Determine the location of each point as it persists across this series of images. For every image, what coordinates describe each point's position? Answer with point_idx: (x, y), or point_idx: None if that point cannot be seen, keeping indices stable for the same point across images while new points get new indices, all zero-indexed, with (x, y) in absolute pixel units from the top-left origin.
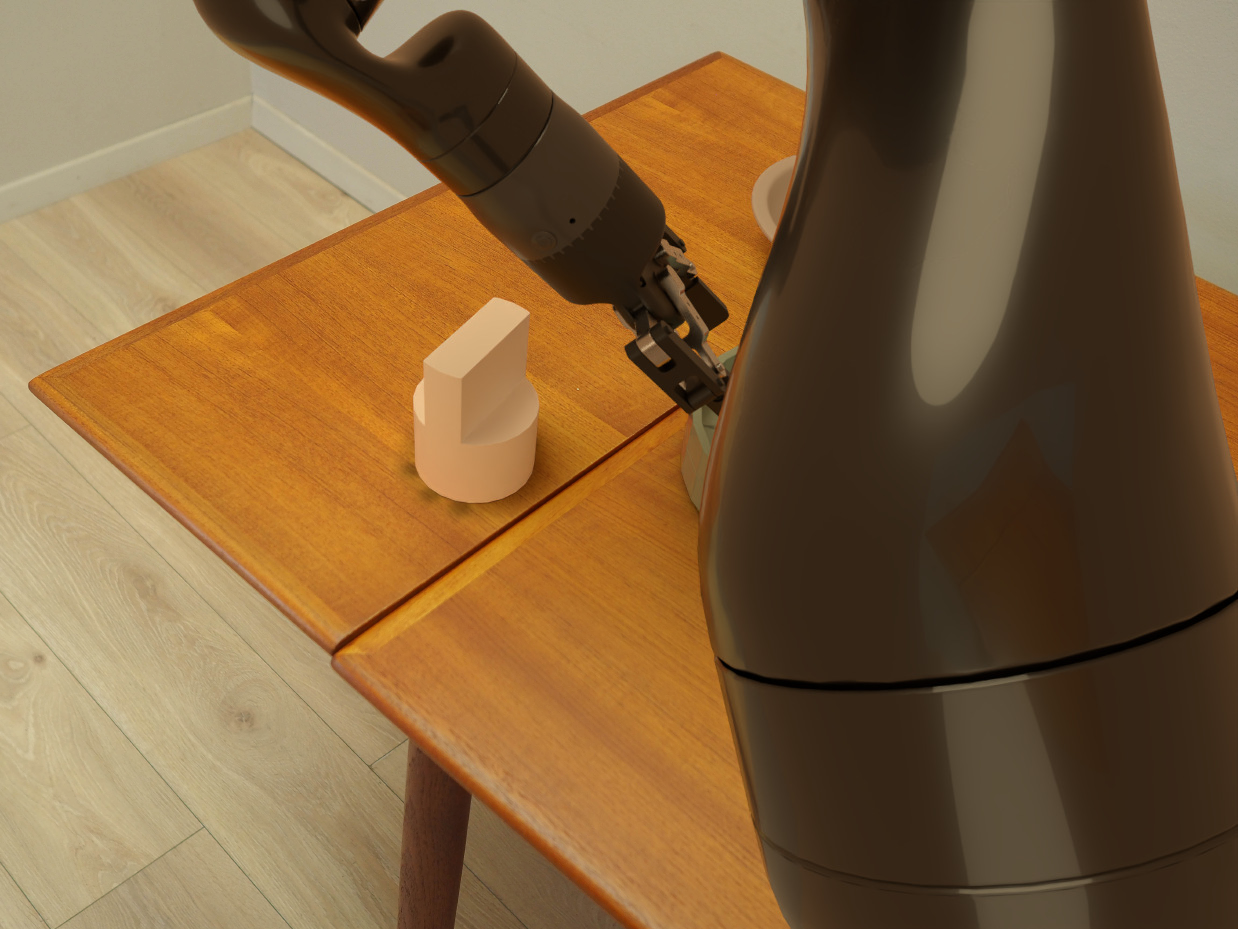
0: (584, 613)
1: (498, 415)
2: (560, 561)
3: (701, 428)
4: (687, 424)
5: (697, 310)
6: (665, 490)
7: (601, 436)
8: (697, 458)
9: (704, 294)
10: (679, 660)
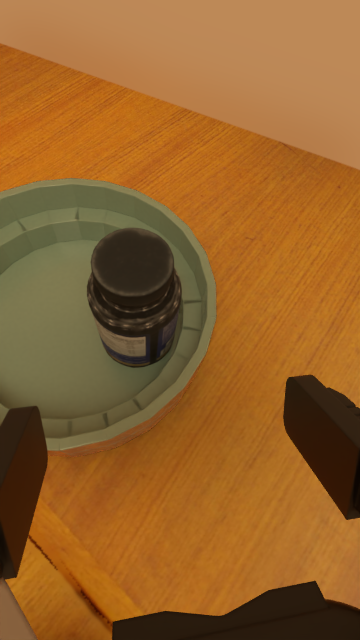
0: (265, 567)
1: None
2: (204, 603)
3: (71, 439)
4: None
5: (28, 485)
6: (95, 474)
7: None
8: (102, 444)
9: (12, 475)
10: (297, 465)
